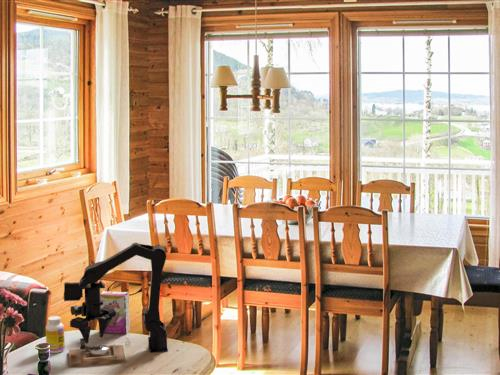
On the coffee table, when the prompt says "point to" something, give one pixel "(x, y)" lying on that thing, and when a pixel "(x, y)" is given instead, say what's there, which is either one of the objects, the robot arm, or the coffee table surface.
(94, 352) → the crank wheel
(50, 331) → the supplement bottle
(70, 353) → the board
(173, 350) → the coffee table surface
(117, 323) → the candy bar box
